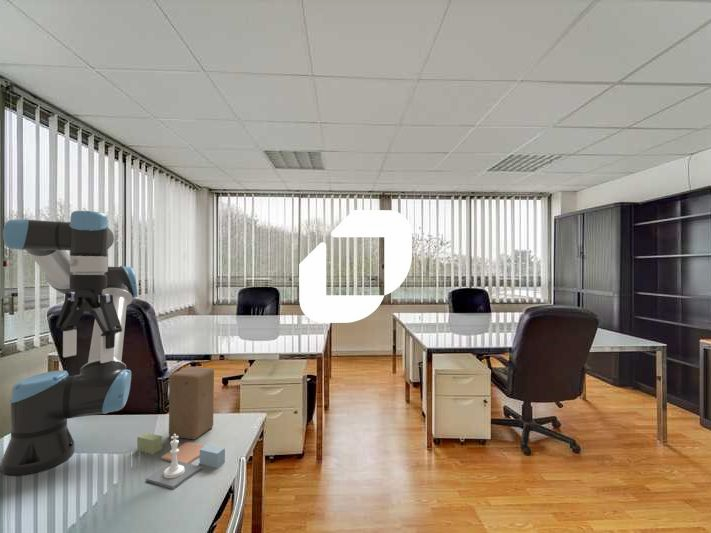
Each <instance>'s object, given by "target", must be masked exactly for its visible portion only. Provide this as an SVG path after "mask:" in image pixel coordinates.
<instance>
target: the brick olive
mask: <svg viewBox="0 0 711 533" xmlns="http://www.w3.org/2000/svg"><path fill="white" fill-rule="evenodd" d="M162 437H163V436H162V435H160V434H159V435H158V434H154V433H150V432H147V431H146V432H145V433H142V434H141V435H139V436H137V439H136V440H137V448H136V449H137V451H139V452H143V453H147V454H151V455H154V454H155V453H158V452H159V451H161V450H162V444H163V443H162Z"/></svg>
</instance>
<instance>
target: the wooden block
mask: <svg viewBox="0 0 711 533" xmlns="http://www.w3.org/2000/svg"><path fill="white" fill-rule="evenodd" d="M168 381H169V388H168V392H169V393H168V394H169V396H168V436H169V437H170V438H171V437H172V436H174V434H176V436H178V438H177V439H179V438H180V439H187V440H188V439H189V440H197V439H198V438H200V437H201V436H202V435H204V434H205V433H207V432H208V431H210V429H212V428H213V426H214V410H215V409H214V405H215V404H214V401H215V390H214V389H215V370H214V368H212V367H201V366H190V365H189V366H187V367H185V368H183V369H180V370H178V371H175V372H173V373H170V376H169V380H168Z"/></svg>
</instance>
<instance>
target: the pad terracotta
mask: <svg viewBox="0 0 711 533" xmlns="http://www.w3.org/2000/svg"><path fill="white" fill-rule="evenodd" d="M204 446H205V445H203V444H197V443H194V442H188V441H186V442H184V443H183V444H181V445H178V446H177V449H179V452H177V461H180V462H184V463H188V464H191V463H193V462H194V461H196V460H197V459H199V458H200V449H201V448H203V447H204ZM161 459H162V460H164V461H168V462H171V461H172V454H171V453H170V451H169V452H167V453H165V454H163V455H162V456H161Z"/></svg>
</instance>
